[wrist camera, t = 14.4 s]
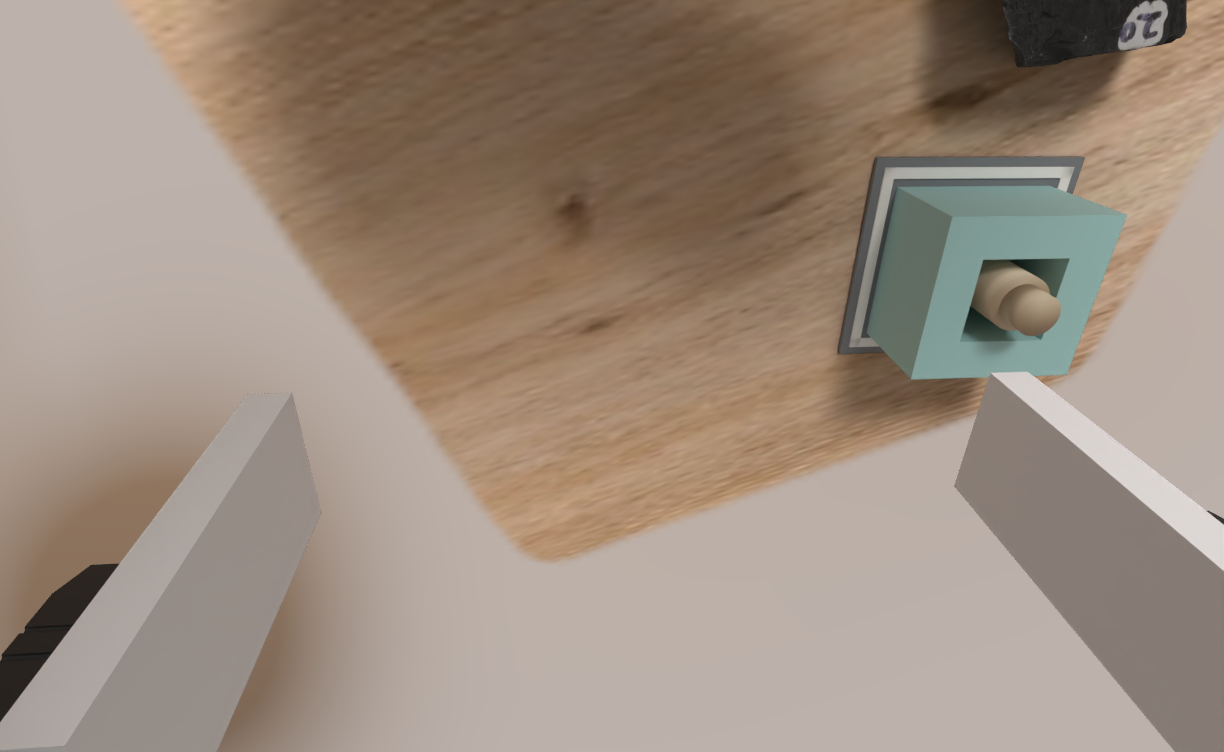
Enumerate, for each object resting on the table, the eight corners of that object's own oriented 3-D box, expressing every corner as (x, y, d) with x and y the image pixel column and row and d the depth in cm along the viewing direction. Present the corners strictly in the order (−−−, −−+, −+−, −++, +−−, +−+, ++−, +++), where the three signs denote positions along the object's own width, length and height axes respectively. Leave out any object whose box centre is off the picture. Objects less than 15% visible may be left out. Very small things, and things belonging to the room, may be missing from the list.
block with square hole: (866, 332, 43) (910, 379, 38) (897, 186, 38) (952, 216, 33) (1003, 329, 43) (1066, 374, 38) (1049, 185, 39) (1127, 214, 34)
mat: (875, 157, 38) (878, 158, 37) (1081, 156, 39) (1086, 157, 38) (838, 351, 44) (840, 354, 43) (1017, 347, 45) (1021, 349, 44)
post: (936, 237, 40) (1019, 288, 33) (985, 236, 40) (1077, 286, 33) (924, 285, 42) (1001, 344, 35) (972, 284, 42) (1057, 342, 35)
